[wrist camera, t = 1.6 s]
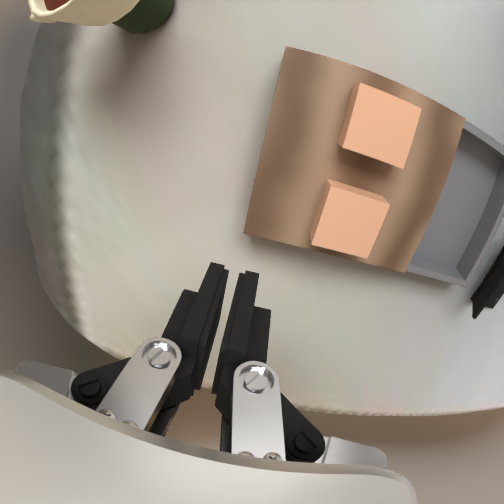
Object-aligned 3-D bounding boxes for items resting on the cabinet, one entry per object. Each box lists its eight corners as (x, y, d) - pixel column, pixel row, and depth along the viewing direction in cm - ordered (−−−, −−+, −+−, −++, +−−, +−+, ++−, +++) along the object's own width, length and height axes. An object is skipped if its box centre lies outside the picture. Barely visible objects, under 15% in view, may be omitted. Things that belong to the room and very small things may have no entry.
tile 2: (410, 107, 17) (421, 108, 16) (394, 163, 20) (403, 169, 18) (353, 83, 17) (360, 82, 15) (337, 143, 20) (342, 147, 18)
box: (504, 153, 20) (522, 162, 17) (454, 270, 28) (466, 287, 25) (443, 114, 20) (462, 118, 17) (392, 252, 28) (402, 270, 25)
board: (443, 114, 20) (465, 118, 17) (392, 252, 28) (403, 273, 25) (285, 54, 20) (285, 46, 16) (248, 215, 28) (243, 233, 25)
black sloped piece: (502, 312, 29) (507, 342, 22) (468, 295, 33) (466, 322, 26) (530, 242, 24) (546, 257, 17) (493, 224, 29) (501, 234, 22)
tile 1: (382, 196, 21) (390, 204, 20) (362, 246, 24) (367, 258, 22) (327, 178, 21) (330, 186, 20) (309, 233, 24) (311, 244, 22)
